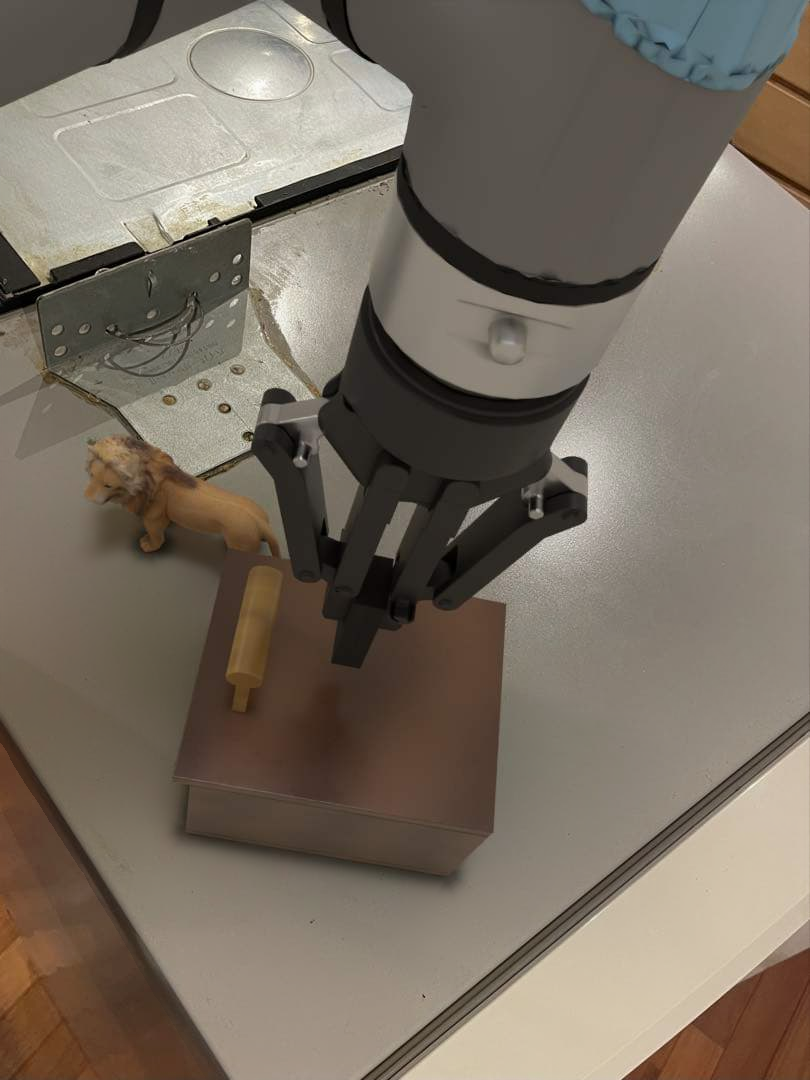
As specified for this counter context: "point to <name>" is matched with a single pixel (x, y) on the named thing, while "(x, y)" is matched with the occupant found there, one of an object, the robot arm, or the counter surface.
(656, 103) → the robot arm
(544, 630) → the counter surface
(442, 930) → the counter surface
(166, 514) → the lion figurine
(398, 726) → the chest lid
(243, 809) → the chest
